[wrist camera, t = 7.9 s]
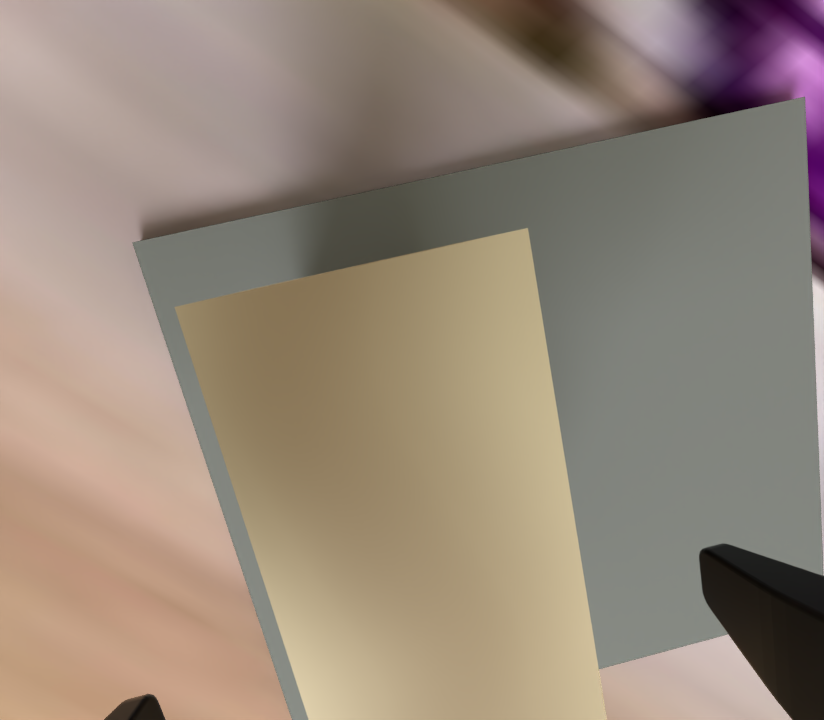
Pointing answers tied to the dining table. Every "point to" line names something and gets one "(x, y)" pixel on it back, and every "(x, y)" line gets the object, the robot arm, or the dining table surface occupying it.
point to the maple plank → (406, 484)
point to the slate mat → (600, 346)
